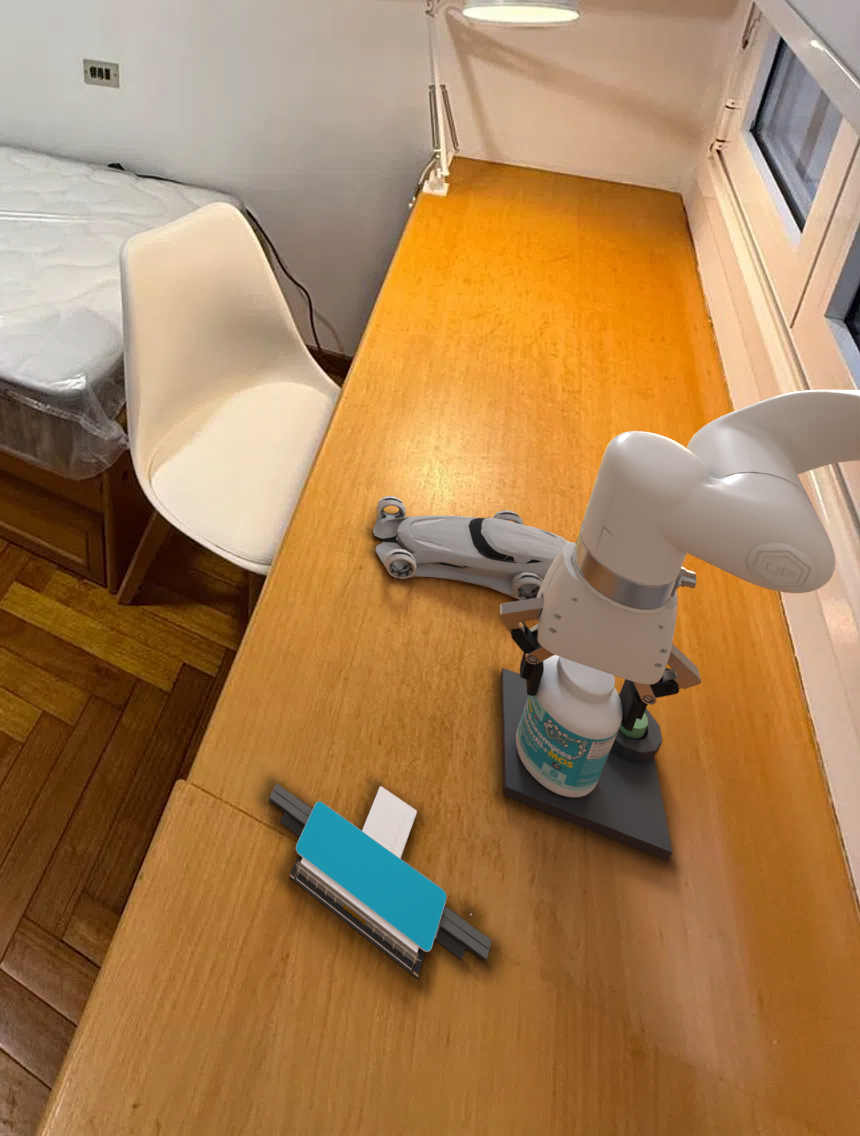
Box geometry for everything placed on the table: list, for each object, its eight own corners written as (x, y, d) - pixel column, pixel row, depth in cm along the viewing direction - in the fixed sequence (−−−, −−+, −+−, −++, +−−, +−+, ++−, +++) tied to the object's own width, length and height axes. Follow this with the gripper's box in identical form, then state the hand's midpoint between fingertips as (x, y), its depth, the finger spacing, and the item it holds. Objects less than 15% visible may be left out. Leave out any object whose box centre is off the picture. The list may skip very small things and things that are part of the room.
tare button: (641, 715, 86) (645, 705, 86) (646, 743, 84) (650, 733, 83) (608, 704, 87) (612, 694, 87) (612, 731, 85) (616, 721, 84)
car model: (369, 509, 114) (374, 481, 112) (559, 538, 110) (568, 510, 108) (379, 579, 104) (385, 549, 102) (588, 613, 100) (598, 583, 98)
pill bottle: (497, 737, 85) (524, 645, 80) (552, 712, 88) (582, 621, 83) (557, 815, 79) (591, 720, 74) (614, 785, 81) (651, 692, 76)
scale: (648, 724, 88) (655, 706, 87) (673, 864, 77) (683, 844, 75) (499, 672, 93) (505, 653, 92) (503, 795, 82) (509, 776, 80)
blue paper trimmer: (507, 878, 75) (510, 867, 75) (471, 1021, 66) (475, 1010, 66) (301, 737, 86) (303, 726, 86) (246, 843, 77) (248, 832, 77)
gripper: (729, 564, 73) (673, 698, 80) (513, 502, 79) (478, 632, 86) (753, 637, 67) (690, 777, 74) (516, 563, 73) (478, 699, 80)
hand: (576, 698), depth 80 cm, fingers closed on pill bottle, 7 cm apart
